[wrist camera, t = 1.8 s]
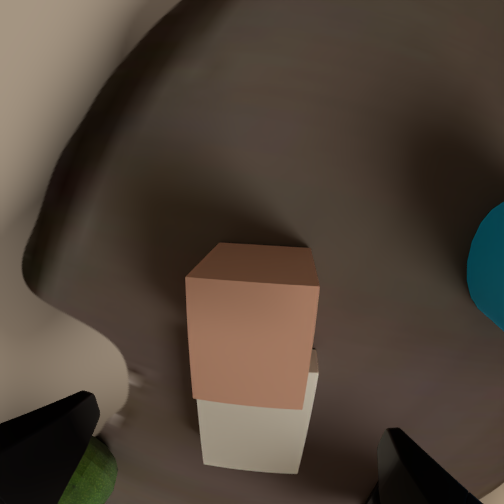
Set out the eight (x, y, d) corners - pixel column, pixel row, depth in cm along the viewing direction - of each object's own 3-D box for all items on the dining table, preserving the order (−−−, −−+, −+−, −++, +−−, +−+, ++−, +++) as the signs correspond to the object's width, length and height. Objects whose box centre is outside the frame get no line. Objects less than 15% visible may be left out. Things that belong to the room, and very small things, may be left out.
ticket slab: (297, 450, 21) (297, 474, 19) (210, 442, 22) (203, 464, 19) (316, 349, 19) (318, 373, 16) (204, 340, 19) (193, 362, 17)
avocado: (66, 401, 23) (-4, 481, 12) (136, 446, 23) (83, 542, 12) (62, 438, 26) (9, 506, 14) (121, 475, 26) (79, 553, 14)
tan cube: (300, 345, 19) (302, 410, 13) (219, 338, 19) (193, 399, 13) (310, 247, 17) (319, 286, 11) (219, 242, 18) (185, 276, 12)
